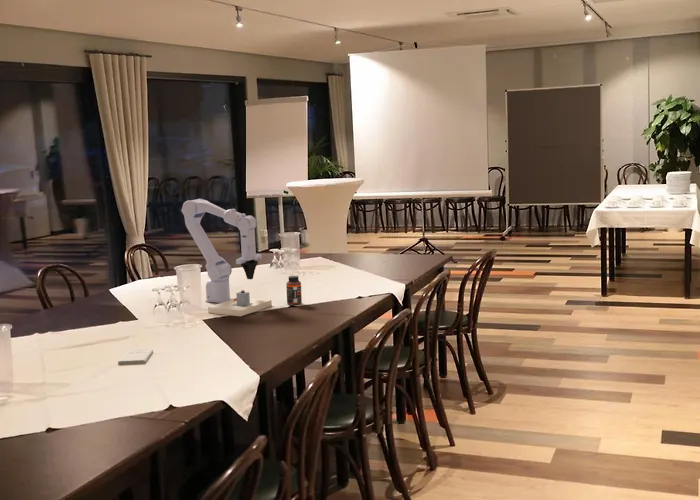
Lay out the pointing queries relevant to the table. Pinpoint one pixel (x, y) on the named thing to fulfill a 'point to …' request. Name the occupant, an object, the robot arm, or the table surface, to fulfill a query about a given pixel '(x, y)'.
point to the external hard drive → (135, 356)
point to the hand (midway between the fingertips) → (250, 279)
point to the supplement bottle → (294, 291)
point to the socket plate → (239, 307)
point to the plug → (243, 299)
